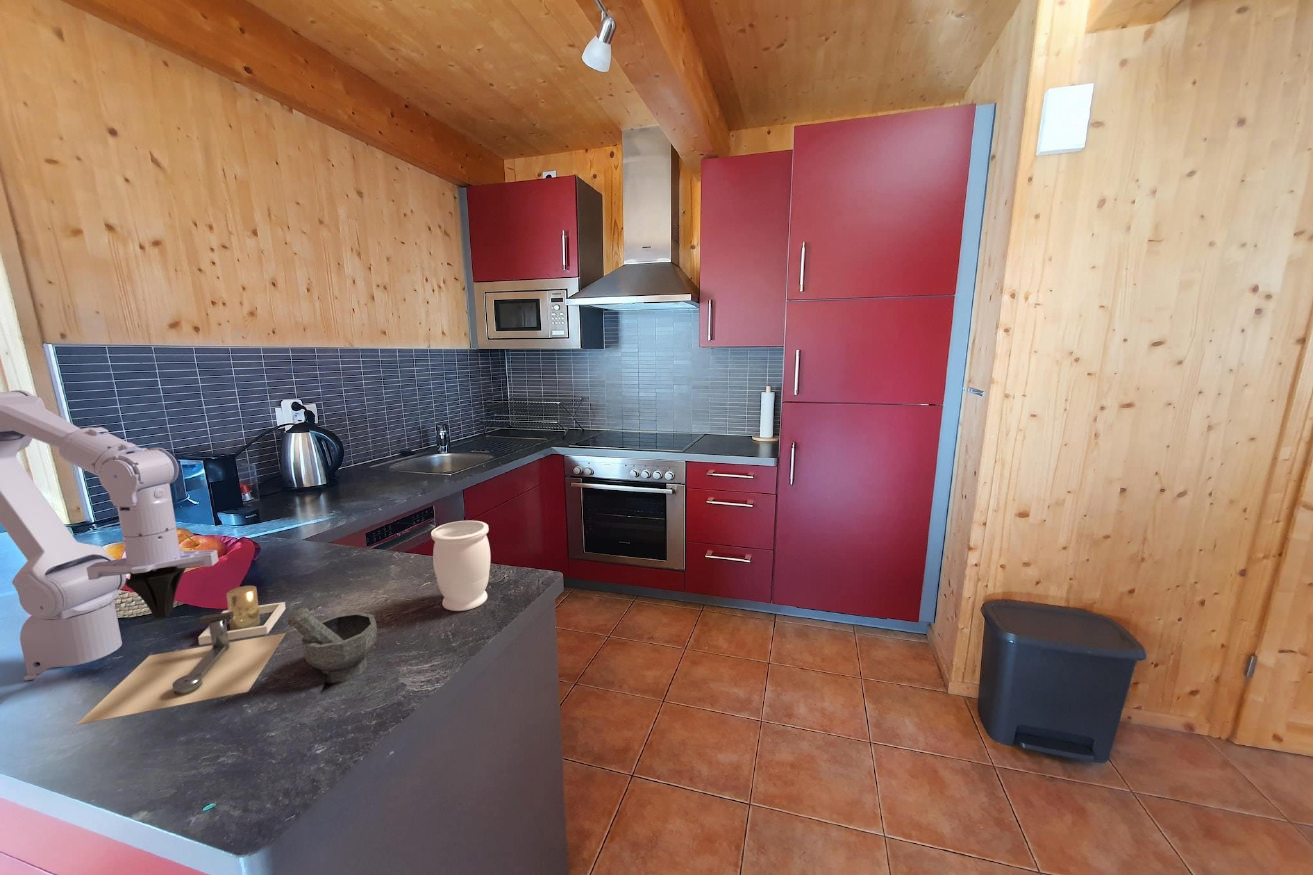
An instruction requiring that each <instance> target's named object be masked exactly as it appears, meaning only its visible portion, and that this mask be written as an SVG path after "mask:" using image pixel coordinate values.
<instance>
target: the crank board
mask: <svg viewBox="0 0 1313 875" xmlns="http://www.w3.org/2000/svg"><path fill="white" fill-rule="evenodd" d="M286 634H287V633H286V632H284V633H279V634H272V635H266V636H259V637H254V638H249V639H242V640H237V641H236V640H235V641H229V645H230V647H229V648H228V649H227V650H226V651H225V652H224V653H223V654H222V655H221V657H220V658H219V659H218V660H217V661H216V663H215V664H214V665H213V666H212V667H211V668H210V670H209V671H208V672H207V673H206V674H205V676H204V677H203V678H202V681H203V684H202V685H201V686H200V687H199V688H198V689H196V690H194V691H192V692H189V693H186V694H181V695H176V694H174V691H173V685H172V684H173V682H174V681H176V680H177V679H179V678H181V677H183V676H186V675H189V674H190V672H191V671H192V670H193V669H194V668H195V667H196V666H197V665H198V663H199V662H200V661H201V660H202V659H203V658H204V657H205V656H206V654H207V653H208V652H209V651H210V650H211V649H212V648H213V647H212V644H211V645H206V646H199V647H195V648H194V647H193V648H192V647H191V648H188V649H187V648H186V649H181V650H176V651H175V650H174V651H169V652H164V653H156V654H149V655H148V656H147V657H146V658H145V659H144V660H143V661H142V662H141V663H140V664H139V665H137V667H135V669H134V670H132V671H131V672H130V673H129V674H128V675H127V676H126V677H125V678H124V679H123V680H122V681H121V682H119V683H118V685H116V686H115V687H114V688H113V689H112V690H111V691H110V692H109V693H108V694H107V695H106V696H105V697H104V698H103V699H102V700H100V701H99V703H98V704H96V705H95V706H94V707H93V708H92V709H91V710H90V711H88V712H87V714H86V715H85V716H83V717H82V718H81V719H80V720H79V721H78V722H77V723H76V724H75V726H79V725H84V724H89V723H95V722H99V721H104V720H110V719H114V718H120V717H121V718H122V717H125V716H130V715H137V714H140V713H145V712H146V713H147V712H151V711H156V710H161V709H166V708H171V707H176V706H181V705H187V704H193V703H197V702H203V701H207V700H212V699H218V698H223V697H227V696H229V697H230V696H233V695H239V694H242V693H248V692H249V691H250V689H251V688H252V686H253V685H254V683H255V682H256V680H257V679H258V677H259V676H260V675H261V673H262V671H263V669H264V668H265V666H266V665H267V663H268V662H269V661H270V659H271V657H272V656H273V654H274V652H275V651H276V649H277V648H278V646H279V645H280V644H281V642H282V640H283V638H284V637H285V636H286Z"/></svg>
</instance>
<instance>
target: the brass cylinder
mask: <svg viewBox="0 0 1313 875" xmlns="http://www.w3.org/2000/svg"><path fill="white" fill-rule="evenodd" d="M226 603H227V610H228V611H229V612H233V614H234V617H233V618H232V619H230V620H229V626H230V627H229V628H230V631H232V630H238V629H245V628H251V627H257V626H258V625H259V626H260V623H261V617H260V614H259V607H258V606H259V600H258V591H257V586H255V585H244V586H239V587H235V588H233V589H231V590H229V591H227V592H226Z"/></svg>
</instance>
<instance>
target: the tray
mask: <svg viewBox="0 0 1313 875" xmlns="http://www.w3.org/2000/svg"><path fill="white" fill-rule="evenodd" d="M258 607H259V615H261V614H267V613H268V614H269V613H271V615H270V616H269V618H268V619H267V620H266V622H265V623H264V624H263V625H259V626H258V625H257V626H256V627H251V628H245V629H238V630H232V631H231V630H227V632H228V639H229V641H233V640H240V639H245V638H250V637H257V636H264V635H268V634H269V633H270V631H272V628H273V627H274V626H275V624H276V623H277V622H278V620H279V619H280V617H281V616H282V615H283V613H284V612H285V610H286V601H284V602H283V601H282V602H274V603H270V604H269V603H267V604H261V605H258ZM227 612H229V611H228V609H227V610H223V611H222V612H221V613H227ZM197 638H198V645H199V646H202V645H209V644H212V641H211V635H210V628H209V626H207V628H205V630H204V631H203V632H202V633H201V634H200V635H199V636H198V637H197Z"/></svg>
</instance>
